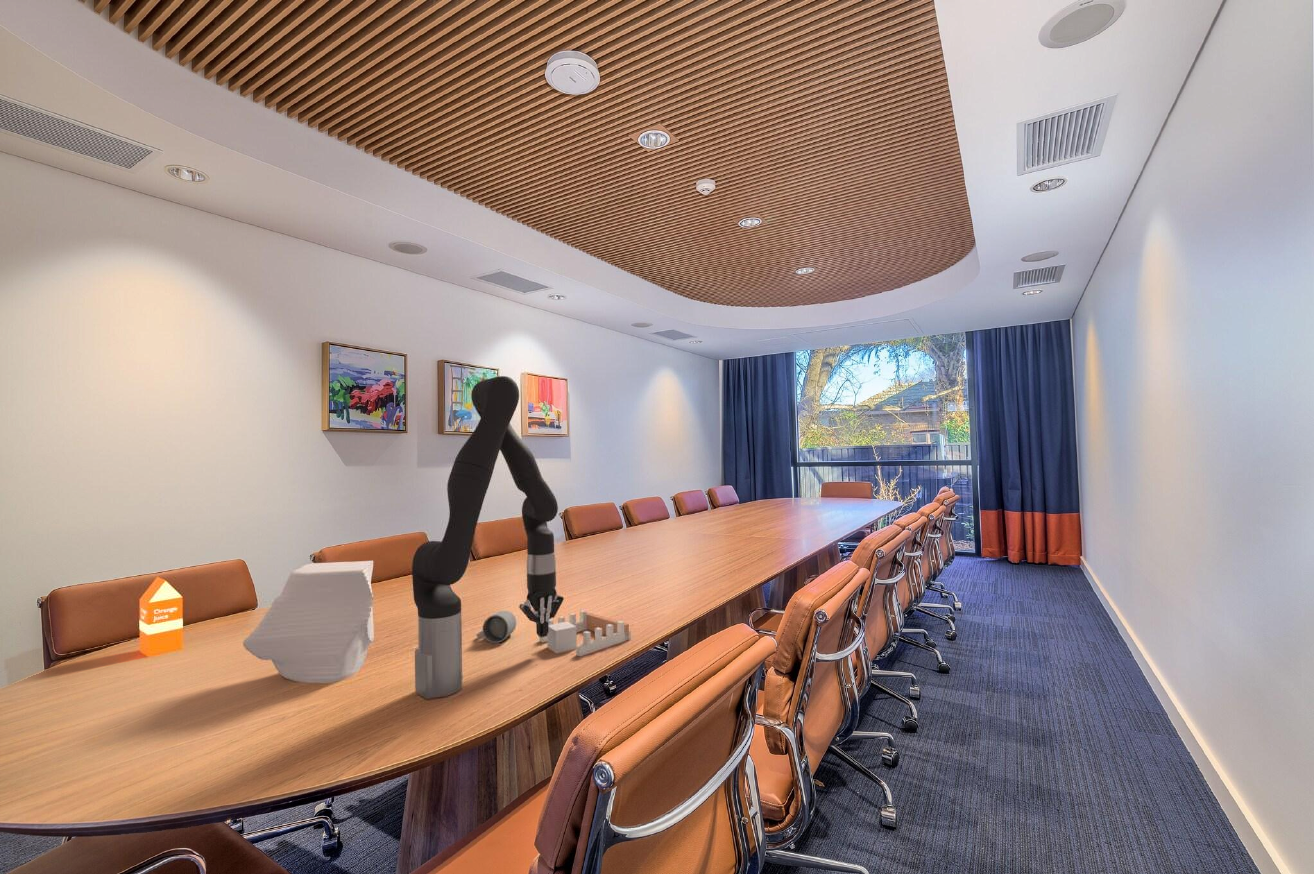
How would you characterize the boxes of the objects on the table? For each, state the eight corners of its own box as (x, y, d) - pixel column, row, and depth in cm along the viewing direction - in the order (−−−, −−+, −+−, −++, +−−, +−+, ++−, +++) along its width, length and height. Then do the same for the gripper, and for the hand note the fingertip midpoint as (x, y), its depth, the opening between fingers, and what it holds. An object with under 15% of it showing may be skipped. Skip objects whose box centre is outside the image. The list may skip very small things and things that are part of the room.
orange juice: (147, 657, 158) (147, 582, 159) (139, 650, 163) (138, 579, 164) (183, 649, 164) (183, 577, 165) (174, 643, 170) (174, 574, 170)
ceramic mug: (518, 633, 171) (517, 607, 171) (508, 643, 163) (507, 615, 163) (483, 634, 172) (482, 608, 172) (472, 643, 164) (471, 616, 164)
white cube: (576, 649, 157) (576, 626, 158) (556, 653, 154) (555, 630, 154) (567, 643, 162) (567, 621, 163) (547, 647, 159) (546, 625, 159)
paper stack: (358, 684, 136) (356, 573, 137) (239, 688, 135) (238, 577, 136) (395, 652, 157) (393, 556, 158) (292, 656, 156) (291, 559, 157)
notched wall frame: (580, 656, 151) (579, 635, 151) (539, 641, 164) (539, 622, 164) (630, 639, 164) (630, 619, 164) (589, 626, 177) (589, 608, 177)
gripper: (527, 576, 147) (529, 645, 147) (570, 567, 156) (571, 632, 156) (511, 572, 152) (513, 639, 152) (553, 564, 162) (554, 627, 161)
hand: (542, 636), depth 154 cm, fingers closed
